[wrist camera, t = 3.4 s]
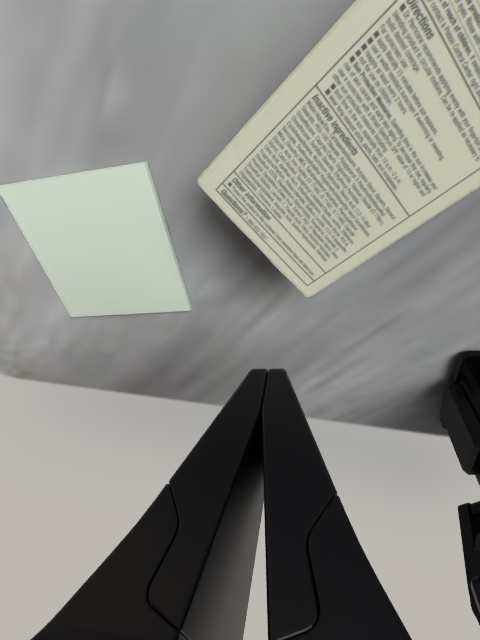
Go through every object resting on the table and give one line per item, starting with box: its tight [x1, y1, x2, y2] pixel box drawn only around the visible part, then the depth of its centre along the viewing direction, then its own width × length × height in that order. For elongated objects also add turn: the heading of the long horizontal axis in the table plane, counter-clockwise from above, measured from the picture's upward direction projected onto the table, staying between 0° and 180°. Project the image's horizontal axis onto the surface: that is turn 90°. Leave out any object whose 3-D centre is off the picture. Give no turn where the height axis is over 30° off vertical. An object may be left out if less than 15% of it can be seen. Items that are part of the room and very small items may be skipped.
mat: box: [0, 161, 192, 317], centre depth 18 cm, size 8×8×1 cm
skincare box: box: [197, 0, 480, 298], centre depth 11 cm, size 6×4×12 cm
